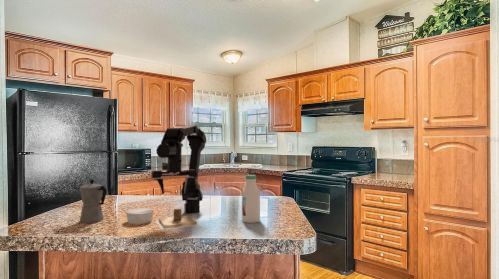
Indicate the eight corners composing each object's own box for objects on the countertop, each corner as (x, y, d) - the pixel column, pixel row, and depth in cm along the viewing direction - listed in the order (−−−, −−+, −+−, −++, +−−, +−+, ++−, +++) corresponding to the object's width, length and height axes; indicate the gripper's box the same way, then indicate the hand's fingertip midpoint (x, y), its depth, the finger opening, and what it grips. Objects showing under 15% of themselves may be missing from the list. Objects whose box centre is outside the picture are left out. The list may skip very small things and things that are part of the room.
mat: (191, 217, 141) (191, 216, 141) (201, 226, 126) (201, 224, 126) (154, 221, 134) (154, 220, 134) (161, 231, 120) (161, 229, 120)
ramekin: (144, 227, 126) (144, 214, 126) (120, 225, 128) (120, 212, 128) (158, 220, 137) (158, 208, 137) (135, 219, 139) (135, 207, 139)
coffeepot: (71, 221, 134) (71, 179, 135) (90, 216, 143) (91, 177, 143) (96, 225, 128) (96, 181, 128) (114, 220, 136) (115, 179, 137)
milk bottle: (262, 219, 137) (262, 174, 138) (256, 224, 130) (256, 176, 130) (245, 218, 140) (245, 173, 140) (239, 222, 133) (239, 175, 133)
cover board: (188, 217, 139) (188, 205, 139) (196, 224, 127) (196, 210, 127) (158, 220, 133) (159, 207, 133) (164, 228, 122) (164, 214, 122)
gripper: (192, 156, 143) (191, 190, 143) (149, 156, 136) (149, 192, 135) (197, 157, 133) (197, 193, 132) (152, 157, 125) (152, 196, 125)
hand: (174, 194), depth 132 cm, fingers open, 9 cm apart
